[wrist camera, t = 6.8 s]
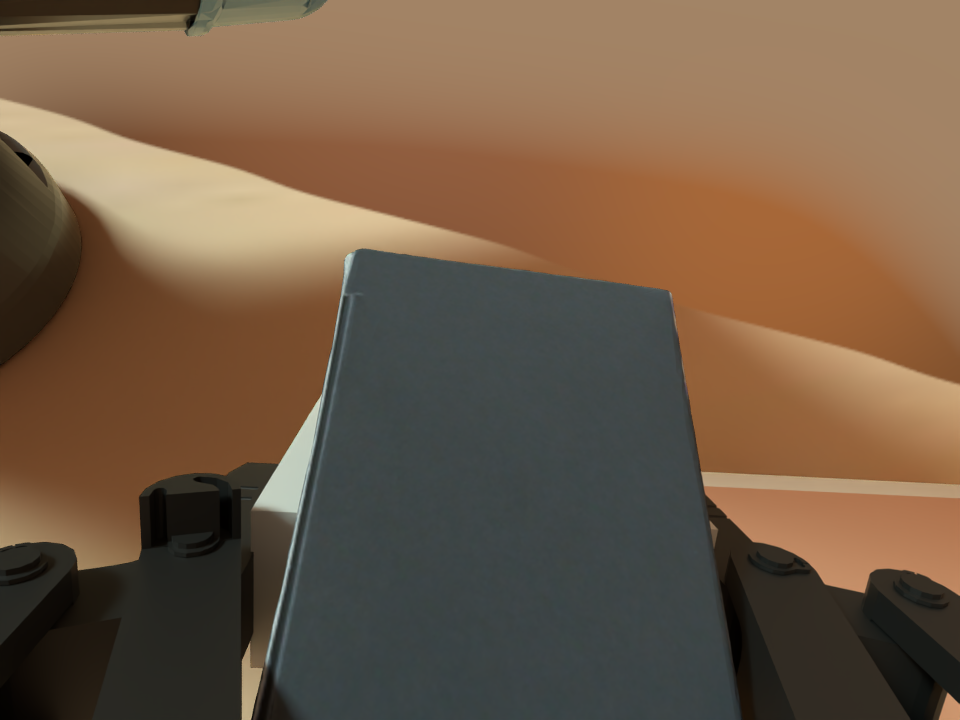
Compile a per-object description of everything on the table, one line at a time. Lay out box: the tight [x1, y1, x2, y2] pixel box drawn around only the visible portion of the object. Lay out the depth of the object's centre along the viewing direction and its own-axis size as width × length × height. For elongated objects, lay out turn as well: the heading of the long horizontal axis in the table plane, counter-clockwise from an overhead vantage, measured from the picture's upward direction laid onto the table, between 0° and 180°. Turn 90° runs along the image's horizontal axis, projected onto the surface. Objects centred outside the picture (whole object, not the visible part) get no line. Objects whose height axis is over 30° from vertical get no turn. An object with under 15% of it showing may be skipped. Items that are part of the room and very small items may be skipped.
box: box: [251, 249, 743, 720], centre depth 12 cm, size 8×6×11 cm
